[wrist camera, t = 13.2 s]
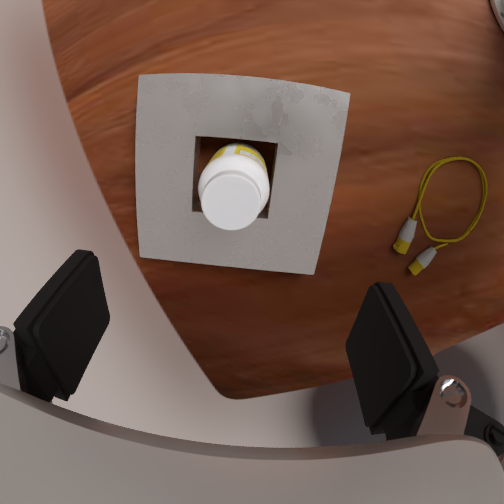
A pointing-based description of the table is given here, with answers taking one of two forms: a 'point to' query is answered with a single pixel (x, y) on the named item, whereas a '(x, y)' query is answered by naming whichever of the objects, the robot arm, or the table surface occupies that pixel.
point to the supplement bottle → (234, 186)
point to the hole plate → (238, 127)
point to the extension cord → (410, 225)
